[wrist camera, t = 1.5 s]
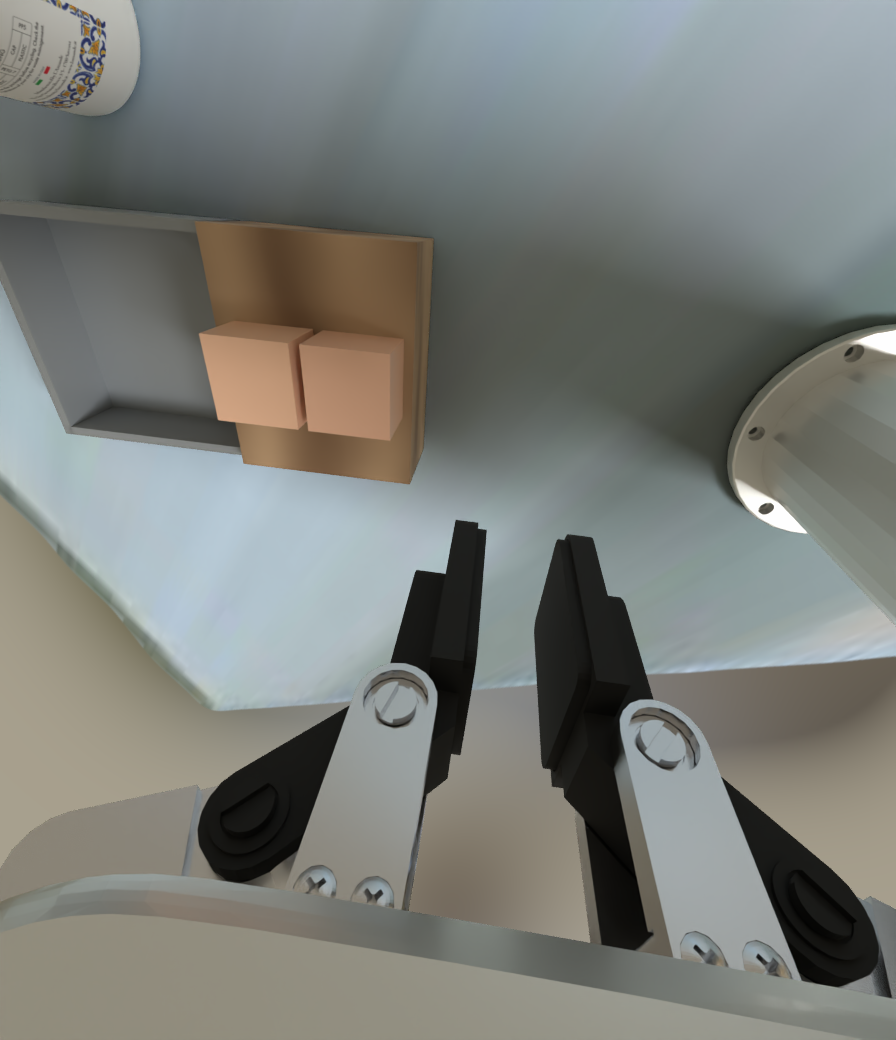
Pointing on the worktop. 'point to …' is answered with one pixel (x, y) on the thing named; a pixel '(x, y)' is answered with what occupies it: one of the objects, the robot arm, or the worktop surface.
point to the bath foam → (69, 54)
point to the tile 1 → (353, 384)
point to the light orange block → (256, 373)
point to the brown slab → (327, 325)
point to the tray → (115, 320)
